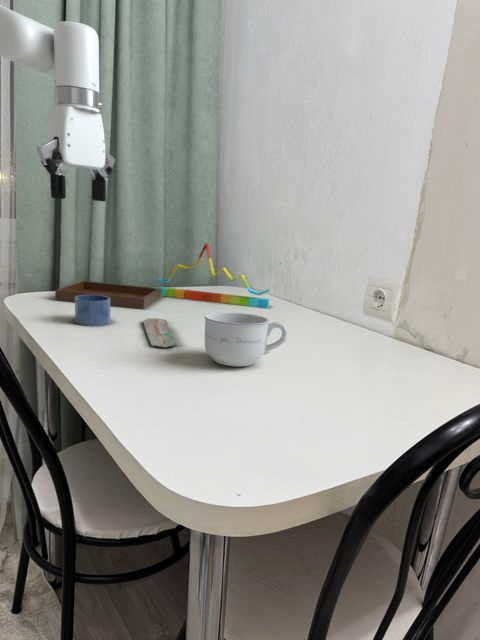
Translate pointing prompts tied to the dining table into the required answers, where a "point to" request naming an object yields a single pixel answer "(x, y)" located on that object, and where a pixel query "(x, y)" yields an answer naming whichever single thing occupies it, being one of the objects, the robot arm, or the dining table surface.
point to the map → (159, 332)
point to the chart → (213, 296)
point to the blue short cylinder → (92, 310)
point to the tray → (111, 293)
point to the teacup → (239, 337)
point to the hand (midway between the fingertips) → (79, 199)
